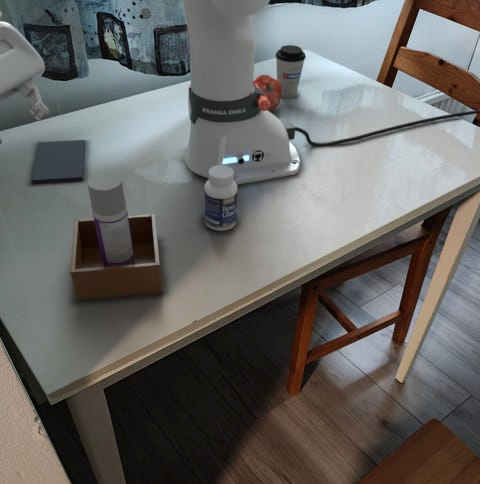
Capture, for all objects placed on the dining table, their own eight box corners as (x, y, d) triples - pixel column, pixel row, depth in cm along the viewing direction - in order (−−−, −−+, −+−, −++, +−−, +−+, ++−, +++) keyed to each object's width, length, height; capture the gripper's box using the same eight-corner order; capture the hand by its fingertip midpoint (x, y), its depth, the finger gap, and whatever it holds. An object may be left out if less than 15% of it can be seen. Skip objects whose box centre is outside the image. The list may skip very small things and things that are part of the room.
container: (105, 257, 81) (88, 171, 70) (136, 256, 82) (123, 171, 71) (102, 277, 78) (84, 191, 67) (134, 276, 79) (121, 190, 68)
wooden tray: (157, 241, 85) (155, 213, 81) (162, 292, 77) (159, 264, 73) (81, 247, 84) (74, 219, 80) (77, 300, 75) (70, 272, 71)
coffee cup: (268, 88, 127) (272, 44, 120) (296, 86, 128) (301, 42, 121) (277, 100, 122) (281, 55, 115) (305, 98, 124) (310, 53, 116)
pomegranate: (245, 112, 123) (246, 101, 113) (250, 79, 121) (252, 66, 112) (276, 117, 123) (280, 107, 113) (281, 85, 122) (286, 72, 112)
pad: (85, 142, 106) (84, 139, 106) (83, 180, 97) (82, 177, 96) (39, 144, 105) (38, 142, 105) (32, 183, 96) (31, 180, 95)
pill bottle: (225, 235, 87) (225, 184, 80) (198, 224, 89) (197, 173, 82) (242, 219, 90) (244, 169, 83) (216, 209, 92) (216, 158, 85)
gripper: (-131, 49, 56) (-29, 155, 60) (2, -1, 69) (78, 89, 73) (-141, 83, 60) (-45, 179, 65) (-14, 30, 73) (59, 113, 78)
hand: (21, 131), depth 69 cm, fingers open, 8 cm apart
